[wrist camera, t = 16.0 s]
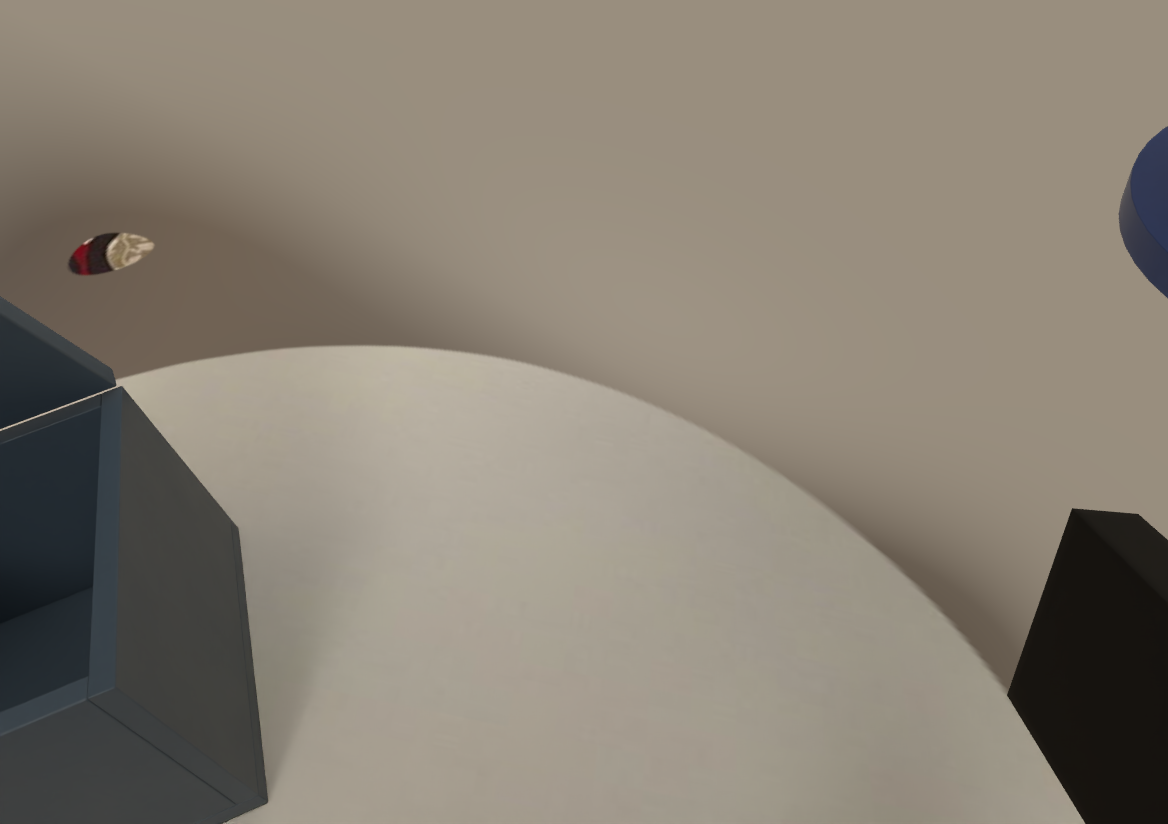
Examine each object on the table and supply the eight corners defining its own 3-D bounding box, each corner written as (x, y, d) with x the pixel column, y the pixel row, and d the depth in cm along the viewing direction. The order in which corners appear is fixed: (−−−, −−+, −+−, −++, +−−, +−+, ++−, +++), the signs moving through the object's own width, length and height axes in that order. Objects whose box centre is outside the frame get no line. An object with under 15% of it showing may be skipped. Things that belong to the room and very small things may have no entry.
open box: (268, 802, 31) (114, 687, 23) (-86, 961, 29) (-366, 888, 22) (238, 528, 40) (121, 385, 33) (-31, 636, 38) (-216, 510, 31)
